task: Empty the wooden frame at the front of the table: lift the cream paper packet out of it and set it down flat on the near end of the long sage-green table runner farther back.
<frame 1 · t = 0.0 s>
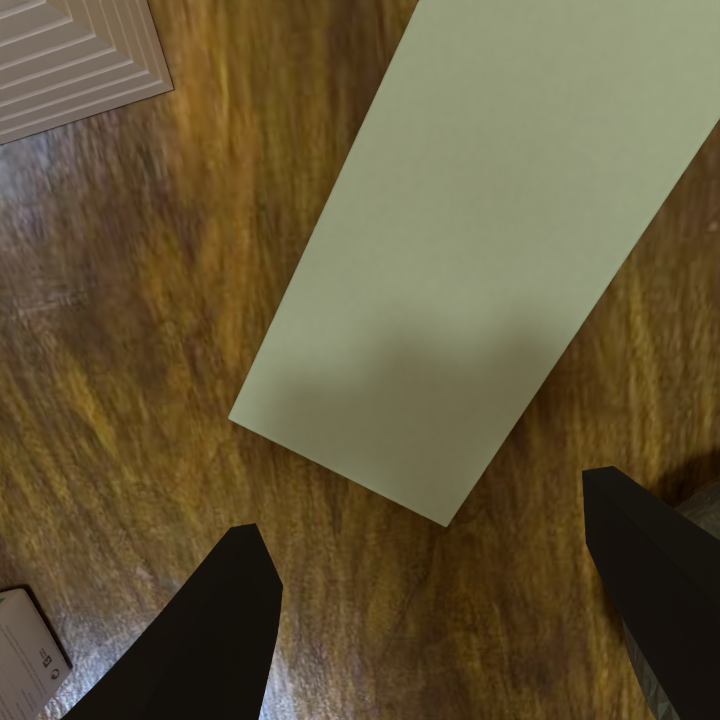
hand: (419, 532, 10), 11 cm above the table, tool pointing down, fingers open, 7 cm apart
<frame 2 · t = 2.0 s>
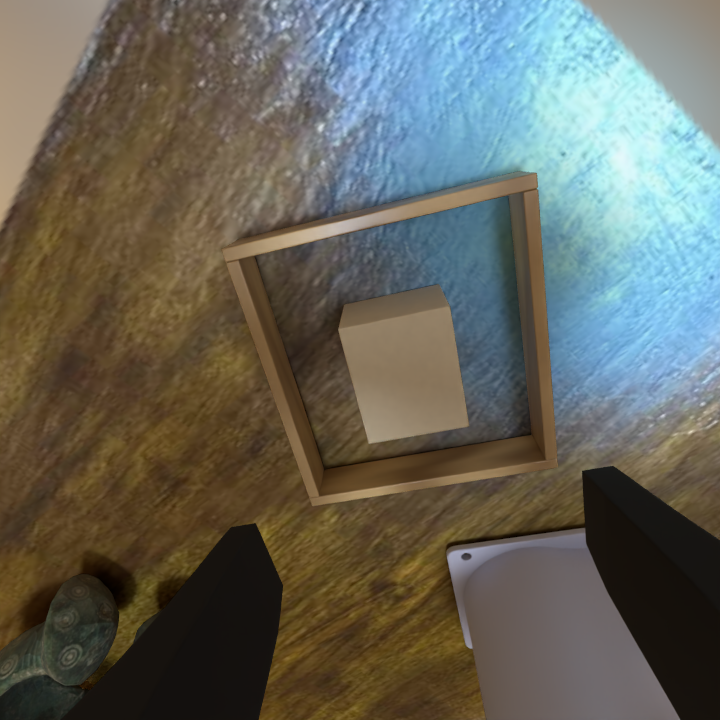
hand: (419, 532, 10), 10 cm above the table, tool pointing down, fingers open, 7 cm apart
wooden frame: (402, 349, 19), on the table
dark green rounded piece: (146, 643, 29), on the table
packet: (404, 363, 18), in the wooden frame
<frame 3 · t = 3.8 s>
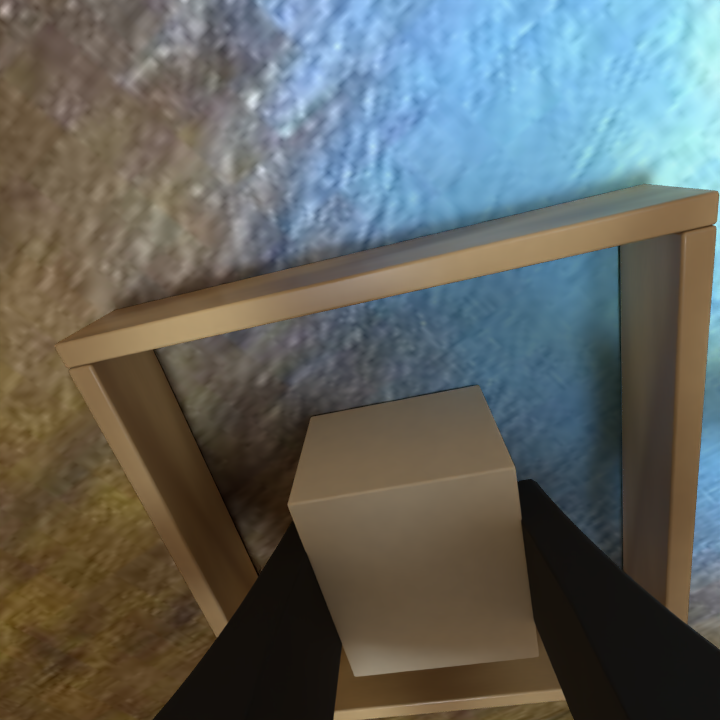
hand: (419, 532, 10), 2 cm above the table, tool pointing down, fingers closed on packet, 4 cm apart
wooden frame: (414, 484, 11), on the table
packet: (417, 529, 10), in the wooden frame, touching gripper
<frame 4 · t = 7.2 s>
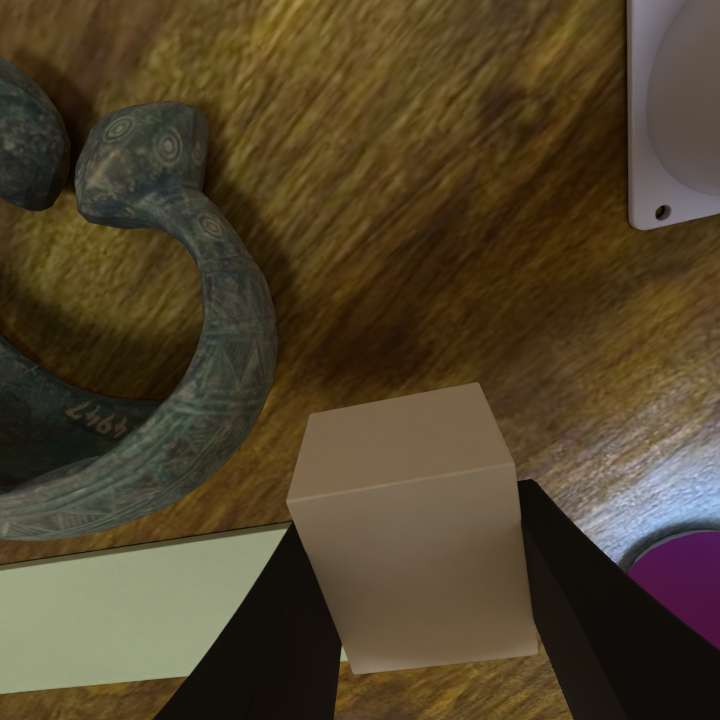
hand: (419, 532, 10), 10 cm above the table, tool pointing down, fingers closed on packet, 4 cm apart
dark green rounded piece: (125, 277, 19), on the table
packet: (416, 526, 10), point 10 cm above the table, touching gripper
runner: (34, 627, 30), on the table
beverage can: (686, 568, 24), on the table
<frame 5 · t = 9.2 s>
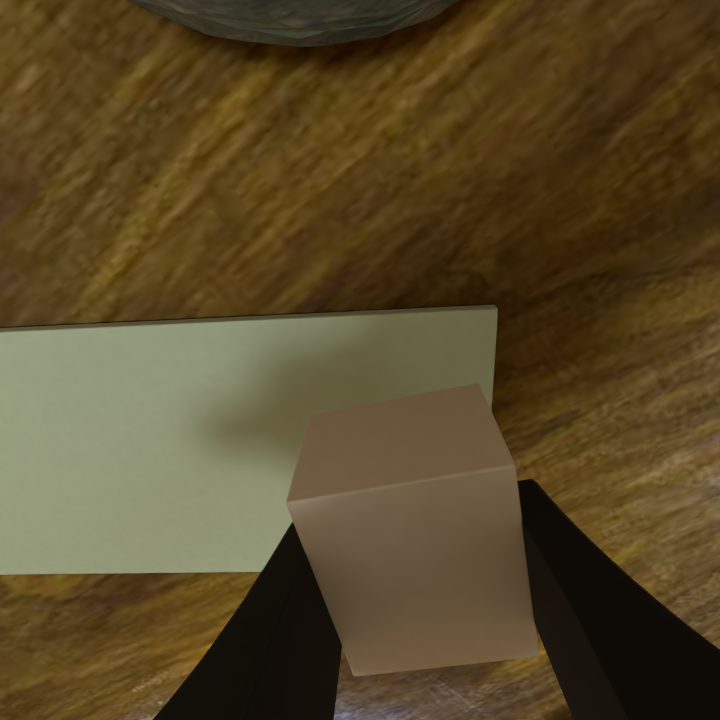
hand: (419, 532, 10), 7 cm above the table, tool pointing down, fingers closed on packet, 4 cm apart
packet: (416, 527, 10), point 7 cm above the table, touching gripper
when the fingers open (2 cm above the table, at t = 10.7 s): packet stays where it is, resting on runner.
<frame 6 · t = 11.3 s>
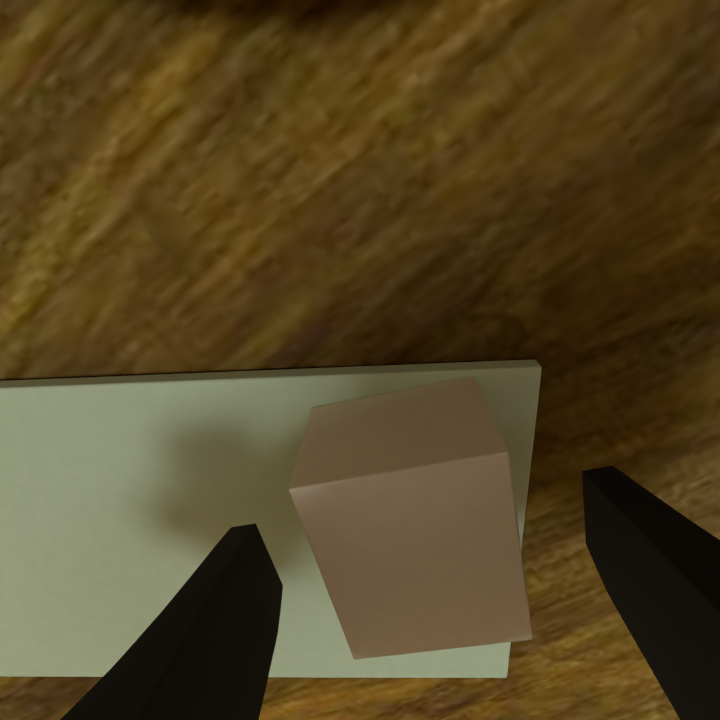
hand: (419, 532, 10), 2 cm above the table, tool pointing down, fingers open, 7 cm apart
packet: (415, 516, 10), on the runner
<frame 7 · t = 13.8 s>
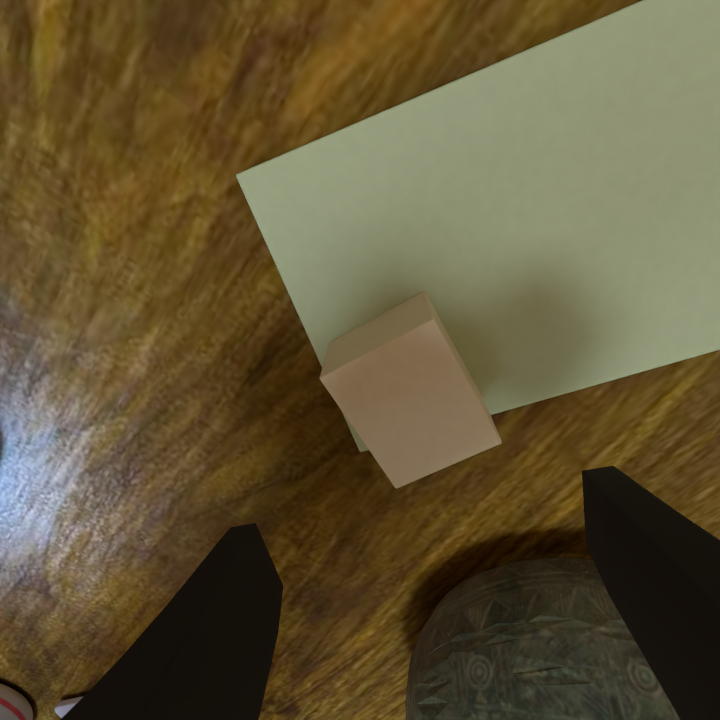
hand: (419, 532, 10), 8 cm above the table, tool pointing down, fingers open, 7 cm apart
dark green rounded piece: (540, 631, 24), on the table
packet: (410, 389, 16), on the runner
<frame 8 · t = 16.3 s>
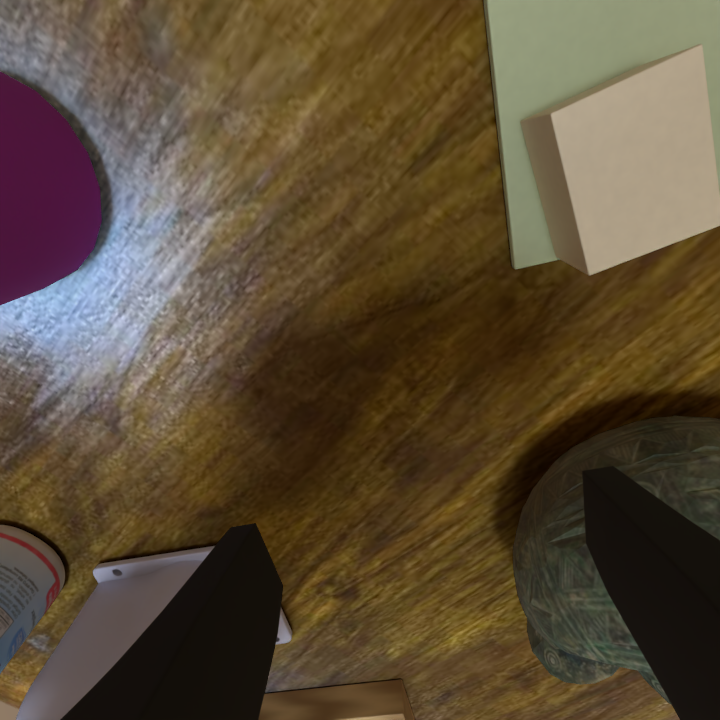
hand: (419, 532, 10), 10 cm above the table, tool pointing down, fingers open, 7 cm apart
dark green rounded piece: (636, 517, 23), on the table
packet: (615, 169, 14), on the runner
pill bottle: (19, 556, 26), on the table
beverage can: (18, 183, 17), on the table
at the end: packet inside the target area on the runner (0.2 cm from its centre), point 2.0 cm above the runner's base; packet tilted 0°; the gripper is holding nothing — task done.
